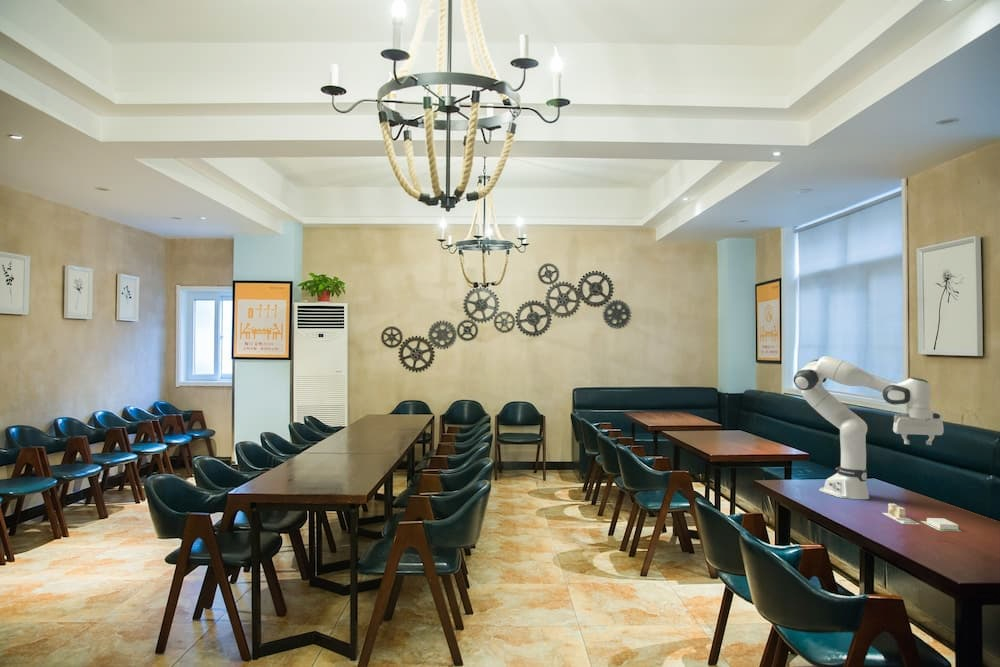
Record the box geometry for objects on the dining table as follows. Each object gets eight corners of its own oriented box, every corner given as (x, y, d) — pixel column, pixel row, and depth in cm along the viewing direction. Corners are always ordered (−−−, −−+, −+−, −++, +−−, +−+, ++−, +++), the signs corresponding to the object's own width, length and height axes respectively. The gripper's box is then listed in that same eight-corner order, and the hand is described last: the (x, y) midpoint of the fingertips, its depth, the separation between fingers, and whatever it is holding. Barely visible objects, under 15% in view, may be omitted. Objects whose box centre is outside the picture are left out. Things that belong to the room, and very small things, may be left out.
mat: (919, 521, 267) (919, 520, 267) (941, 522, 266) (941, 521, 266) (938, 531, 254) (938, 530, 254) (961, 532, 254) (961, 531, 254)
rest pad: (882, 514, 278) (882, 512, 278) (898, 514, 278) (898, 513, 278) (902, 524, 262) (902, 523, 262) (919, 525, 262) (919, 524, 262)
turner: (885, 513, 278) (885, 503, 278) (896, 513, 277) (896, 503, 277) (903, 522, 263) (904, 512, 263) (916, 523, 263) (916, 513, 263)
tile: (926, 517, 264) (940, 524, 255) (944, 518, 263) (958, 524, 255) (926, 523, 264) (940, 529, 255) (944, 523, 263) (957, 530, 254)
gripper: (898, 413, 279) (897, 444, 279) (946, 415, 277) (945, 446, 277) (890, 412, 285) (889, 442, 285) (937, 413, 283) (936, 444, 283)
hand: (917, 444), depth 281 cm, fingers open, 8 cm apart
